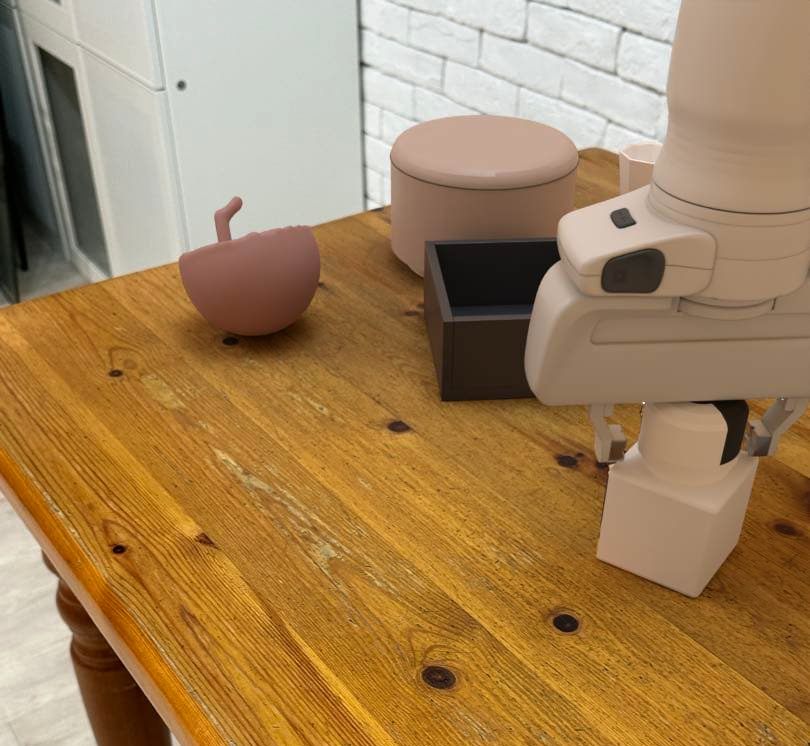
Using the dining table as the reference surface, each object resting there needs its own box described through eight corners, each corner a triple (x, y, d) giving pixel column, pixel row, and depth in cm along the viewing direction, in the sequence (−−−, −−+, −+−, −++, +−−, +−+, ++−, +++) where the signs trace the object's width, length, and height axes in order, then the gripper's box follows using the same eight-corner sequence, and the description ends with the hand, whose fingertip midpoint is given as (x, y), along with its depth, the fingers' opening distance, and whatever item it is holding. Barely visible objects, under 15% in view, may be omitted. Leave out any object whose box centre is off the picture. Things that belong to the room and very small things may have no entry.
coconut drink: (285, 288, 100) (276, 168, 93) (347, 338, 92) (343, 211, 85) (167, 318, 95) (149, 194, 88) (223, 374, 87) (207, 242, 80)
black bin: (590, 308, 97) (599, 235, 93) (632, 393, 85) (644, 314, 81) (423, 313, 96) (424, 240, 92) (441, 401, 84) (443, 321, 80)
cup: (609, 214, 115) (619, 139, 110) (702, 219, 114) (716, 144, 109) (609, 239, 110) (619, 161, 105) (706, 245, 109) (721, 167, 104)
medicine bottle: (640, 506, 73) (668, 352, 65) (738, 543, 70) (779, 386, 62) (593, 559, 68) (616, 400, 61) (696, 602, 65) (734, 439, 58)
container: (362, 240, 109) (359, 124, 102) (512, 213, 115) (520, 102, 108) (439, 310, 97) (442, 184, 89) (603, 275, 103) (618, 155, 95)
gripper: (890, 211, 59) (826, 421, 67) (530, 218, 57) (512, 432, 66) (944, 256, 54) (867, 477, 62) (551, 265, 52) (528, 490, 61)
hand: (682, 454), depth 64 cm, fingers open, 8 cm apart
